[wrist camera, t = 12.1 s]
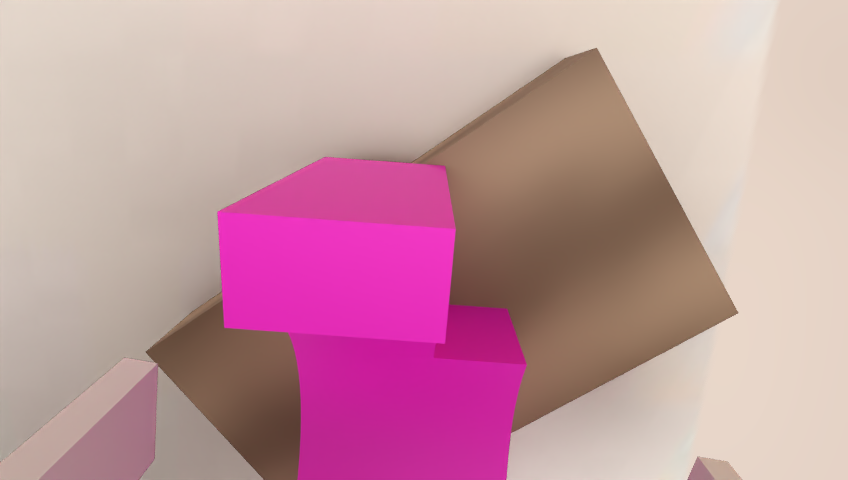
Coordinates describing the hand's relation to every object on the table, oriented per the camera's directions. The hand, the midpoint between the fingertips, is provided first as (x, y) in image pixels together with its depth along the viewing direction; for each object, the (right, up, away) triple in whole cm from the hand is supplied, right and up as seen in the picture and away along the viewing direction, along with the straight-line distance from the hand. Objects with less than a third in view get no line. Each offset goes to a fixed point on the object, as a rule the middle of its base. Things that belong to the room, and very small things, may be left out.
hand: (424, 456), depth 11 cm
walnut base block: (0, +3, +9) cm, 9 cm away
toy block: (-1, 0, +6) cm, 6 cm away
